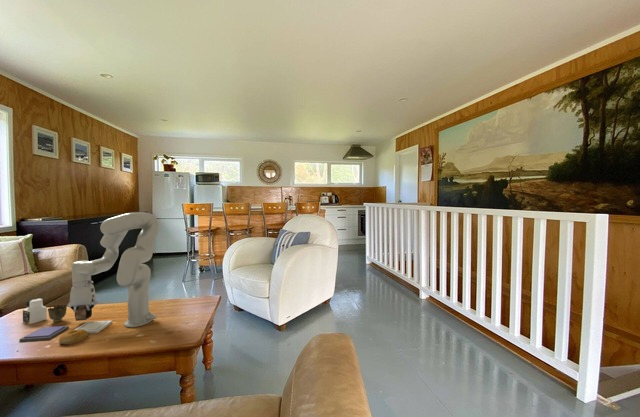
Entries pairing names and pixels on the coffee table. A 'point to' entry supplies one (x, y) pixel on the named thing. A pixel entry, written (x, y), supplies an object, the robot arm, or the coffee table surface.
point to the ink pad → (44, 333)
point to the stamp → (81, 313)
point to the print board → (94, 326)
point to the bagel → (73, 336)
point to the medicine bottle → (34, 311)
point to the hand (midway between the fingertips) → (83, 317)
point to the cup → (57, 313)
